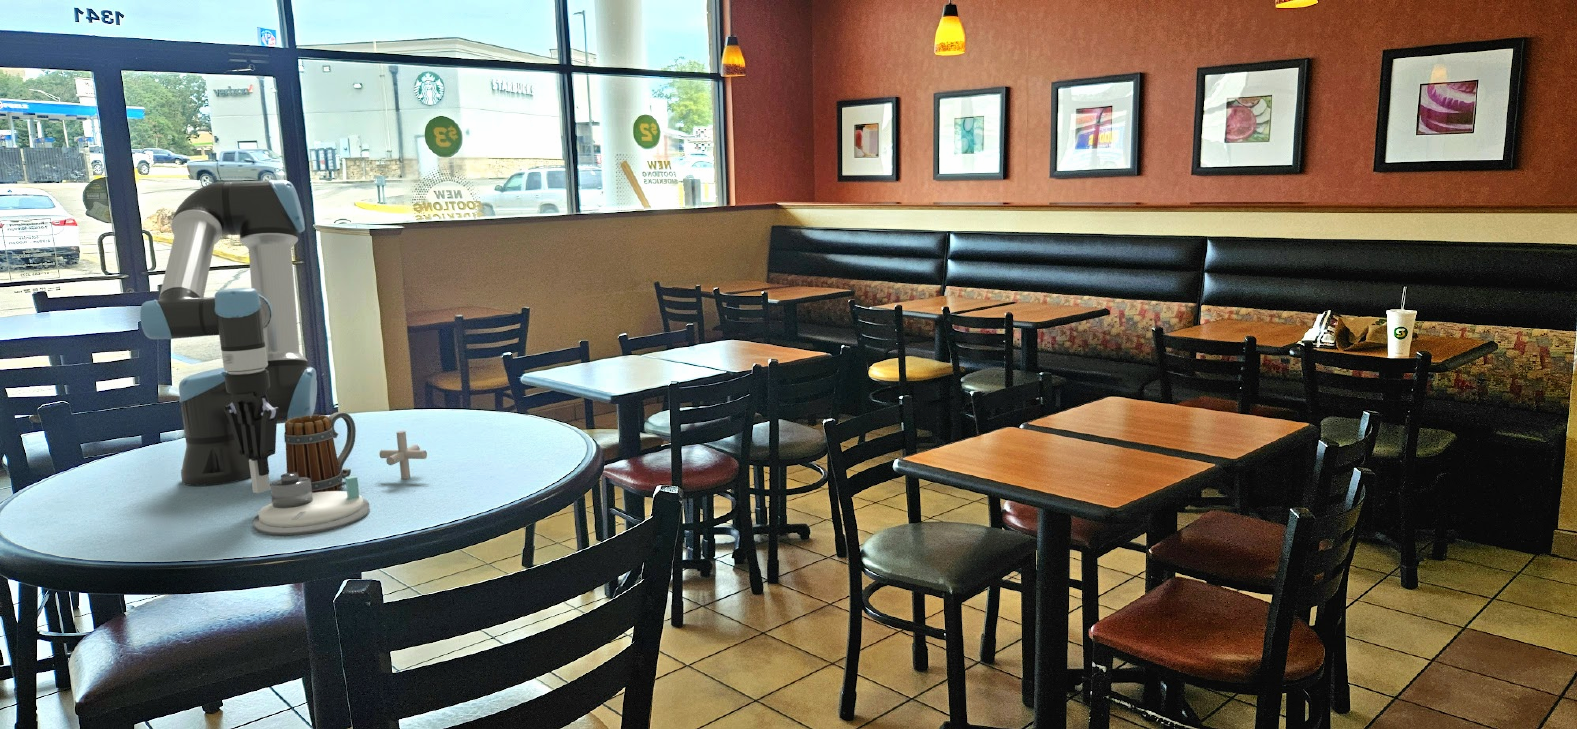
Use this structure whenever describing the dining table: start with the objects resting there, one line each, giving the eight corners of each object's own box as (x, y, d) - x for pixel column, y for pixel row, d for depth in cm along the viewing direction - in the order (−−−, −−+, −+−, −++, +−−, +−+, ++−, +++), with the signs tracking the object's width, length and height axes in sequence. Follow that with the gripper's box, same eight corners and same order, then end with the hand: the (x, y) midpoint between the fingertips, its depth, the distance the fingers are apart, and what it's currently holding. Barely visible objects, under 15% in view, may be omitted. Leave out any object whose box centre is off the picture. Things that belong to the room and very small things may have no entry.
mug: (308, 500, 214) (299, 427, 211) (276, 494, 219) (267, 422, 217) (374, 480, 227) (367, 410, 224) (343, 474, 232) (335, 406, 230)
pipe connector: (414, 485, 222) (409, 437, 220) (371, 484, 224) (365, 437, 222) (439, 471, 232) (434, 426, 230) (397, 470, 234) (392, 425, 232)
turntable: (237, 520, 198) (233, 493, 197) (318, 493, 214) (315, 468, 213) (305, 531, 190) (302, 503, 189) (384, 502, 206) (381, 476, 205)
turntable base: (229, 528, 198) (228, 522, 198) (319, 497, 216) (318, 491, 215) (305, 541, 189) (304, 534, 189) (392, 508, 207) (392, 502, 207)
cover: (264, 506, 203) (260, 478, 202) (295, 495, 209) (292, 468, 208) (290, 510, 200) (286, 481, 199) (321, 499, 206) (317, 471, 205)
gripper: (205, 372, 203) (221, 493, 207) (251, 375, 197) (267, 499, 201) (240, 365, 210) (256, 482, 214) (286, 368, 204) (301, 488, 208)
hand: (261, 490), depth 207 cm, fingers closed
